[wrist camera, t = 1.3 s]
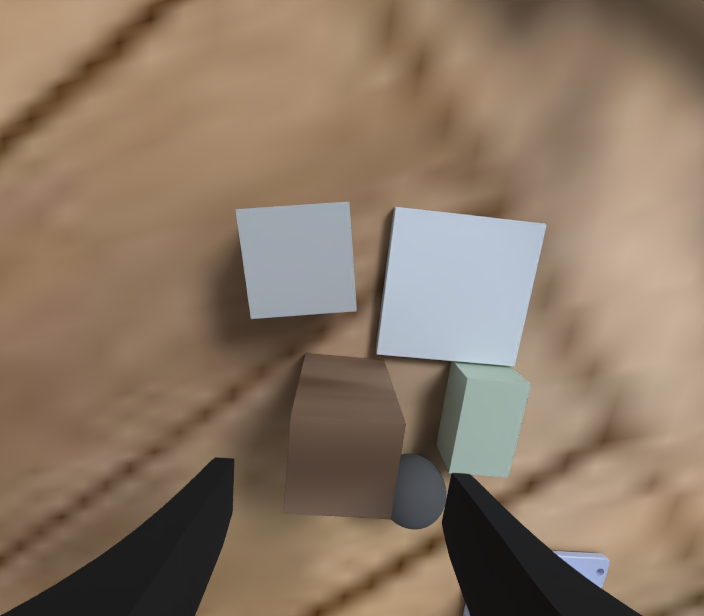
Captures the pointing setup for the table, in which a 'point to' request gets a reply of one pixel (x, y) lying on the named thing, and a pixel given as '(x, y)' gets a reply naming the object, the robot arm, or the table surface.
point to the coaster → (457, 286)
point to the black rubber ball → (418, 493)
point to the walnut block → (343, 439)
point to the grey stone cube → (297, 259)
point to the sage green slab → (481, 418)
